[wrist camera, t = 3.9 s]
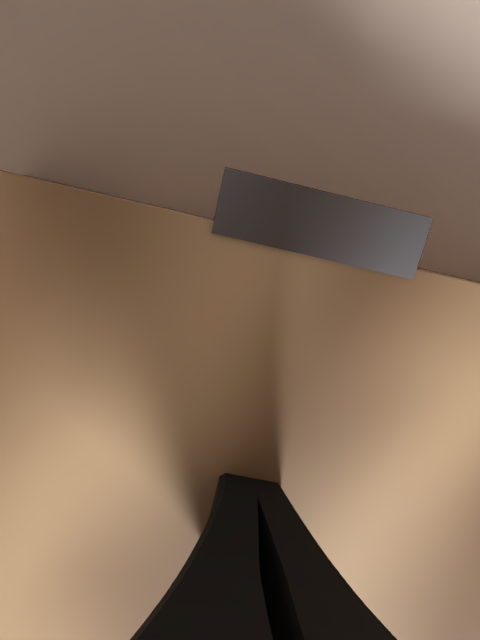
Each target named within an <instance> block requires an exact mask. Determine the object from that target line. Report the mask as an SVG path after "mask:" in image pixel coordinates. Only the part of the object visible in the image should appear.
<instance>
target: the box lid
mask: <svg viewBox="0 0 480 640" xmlns="http://www.w3.org/2000/svg"><path fill="white" fill-rule="evenodd" d="M432 221H433V218H430V217H426V216H422V215H418V214H414V213H410V212H406V211H402V210H398V209H394V208H390V207H386V206H382V205H378V204H374V203H370V202H366V201H361V200H357V199H353V198H349V197H345V196H341V195H337V194H333V193H329V192H325V191H321V190H317V189H313V188H309V187H305V186H301V185H297V184H293V183H288V182H284V181H280V180H276V179H272V178H268V177H264V176H260V175H256V174H252V173H248V172H244V171H240V170H236V169H232V168H228V167H225V170H224V175H223V180H222V184H221V189H220V194H219V198H218V203H217V208H216V213H215V217H214V220H210V219H206V218H201V217H197V216H193V215H189V214H184V213H180V212H176V211H172V210H167V209H163V208H159V207H155V206H150V205H146V204H142V203H138V202H133V201H129V200H125V199H121V198H117V197H112V196H108V195H104V194H100V193H95V192H91V191H87V190H83V189H78V188H74V187H70V186H66V185H61V184H57V183H53V182H49V181H45V180H40V179H36V178H32V177H28V176H23V175H19V174H15V173H11V172H6V171H2V170H0V640H130V639H131V638H132V636H133V635H134V634H135V633H136V631H137V630H138V629H139V628H140V626H141V625H142V624H143V623H144V621H145V620H146V619H147V618H148V616H149V615H150V614H151V612H152V611H153V610H154V608H155V607H156V606H157V604H158V603H159V602H160V600H161V599H162V598H163V596H164V595H165V593H166V592H167V590H168V589H169V587H170V586H171V584H172V583H173V582H174V580H175V579H176V577H177V575H178V574H179V572H180V571H181V569H182V567H183V566H184V564H185V563H186V561H187V559H188V558H189V556H190V554H191V552H192V550H193V548H194V547H195V545H196V543H197V541H198V539H199V538H200V536H201V534H202V532H203V530H204V528H205V525H206V523H207V521H208V518H209V516H210V512H211V508H212V504H213V500H214V496H215V492H216V488H217V484H218V480H219V476H221V475H223V474H224V473H228V474H234V475H239V476H244V477H250V478H255V479H260V480H266V481H271V482H276V483H278V484H279V485H280V487H281V488H282V490H283V491H284V493H285V494H286V496H287V498H288V499H289V501H290V502H291V504H292V505H293V507H294V509H295V510H296V512H297V513H298V515H299V516H300V518H301V519H302V521H303V523H304V524H305V526H306V527H307V529H308V530H309V531H310V533H311V534H312V536H313V537H314V539H315V540H316V542H317V543H318V545H319V546H320V547H321V549H322V550H323V552H324V553H325V554H326V556H327V557H328V558H329V560H330V561H331V562H332V564H333V565H334V566H335V568H336V569H337V570H338V571H339V573H340V574H341V575H342V577H343V578H344V579H345V580H346V582H347V583H348V584H349V585H350V587H351V588H352V589H353V591H354V592H355V593H356V594H357V595H358V597H359V598H360V599H361V600H362V601H363V602H364V604H365V605H366V606H367V607H368V608H369V609H370V610H371V611H372V613H373V614H374V615H375V616H376V617H377V618H378V619H379V620H380V621H381V622H382V624H383V625H384V626H385V627H386V628H387V629H388V630H389V631H390V632H391V633H392V635H393V636H394V637H395V638H396V639H397V640H480V283H477V282H472V281H468V280H464V279H460V278H455V277H451V276H447V275H443V274H439V273H434V272H430V271H426V270H422V269H417V266H418V263H419V260H420V257H421V254H422V251H423V248H424V245H425V242H426V239H427V236H428V233H429V230H430V227H431V224H432Z"/></svg>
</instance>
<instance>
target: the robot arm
mask: <svg viewBox="0 0 480 640" xmlns="http://www.w3.org/2000/svg"><path fill="white" fill-rule="evenodd" d="M130 640H397V639H396V638H395V637H394V636H393V635H392V633H391V632H390V631H389V630H388V629H387V628H386V627H385V626H384V625H383V624H382V622H381V621H380V620H379V619H378V618H377V617H376V616H375V615H374V614H373V613H372V611H371V610H370V609H369V608H368V607H367V606H366V605H365V604H364V602H363V601H362V600H361V599H360V598H359V597H358V595H357V594H356V593H355V592H354V591H353V589H352V588H351V587H350V585H349V584H348V583H347V582H346V580H345V579H344V578H343V577H342V575H341V574H340V573H339V571H338V570H337V569H336V568H335V566H334V565H333V564H332V562H331V561H330V560H329V558H328V557H327V556H326V554H325V553H324V552H323V550H322V549H321V547H320V546H319V545H318V543H317V542H316V540H315V539H314V537H313V536H312V534H311V533H310V531H309V530H308V529H307V527H306V526H305V524H304V523H303V521H302V519H301V518H300V516H299V515H298V513H297V512H296V510H295V509H294V507H293V505H292V504H291V502H290V501H289V499H288V498H287V496H286V494H285V493H284V491H283V490H282V488H281V487H280V485H279V484H278V483H276V482H271V481H266V480H260V479H255V478H250V477H244V476H239V475H234V474H228V473H224V474H223V475H221V476H219V480H218V484H217V488H216V492H215V496H214V500H213V504H212V508H211V512H210V516H209V518H208V521H207V523H206V525H205V528H204V530H203V532H202V534H201V536H200V538H199V539H198V541H197V543H196V545H195V547H194V548H193V550H192V552H191V554H190V556H189V558H188V559H187V561H186V563H185V564H184V566H183V567H182V569H181V571H180V572H179V574H178V575H177V577H176V579H175V580H174V582H173V583H172V584H171V586H170V587H169V589H168V590H167V592H166V593H165V595H164V596H163V598H162V599H161V600H160V602H159V603H158V604H157V606H156V607H155V608H154V610H153V611H152V612H151V614H150V615H149V616H148V618H147V619H146V620H145V621H144V623H143V624H142V625H141V626H140V628H139V629H138V630H137V631H136V633H135V634H134V635H133V636H132V638H131V639H130Z"/></svg>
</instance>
